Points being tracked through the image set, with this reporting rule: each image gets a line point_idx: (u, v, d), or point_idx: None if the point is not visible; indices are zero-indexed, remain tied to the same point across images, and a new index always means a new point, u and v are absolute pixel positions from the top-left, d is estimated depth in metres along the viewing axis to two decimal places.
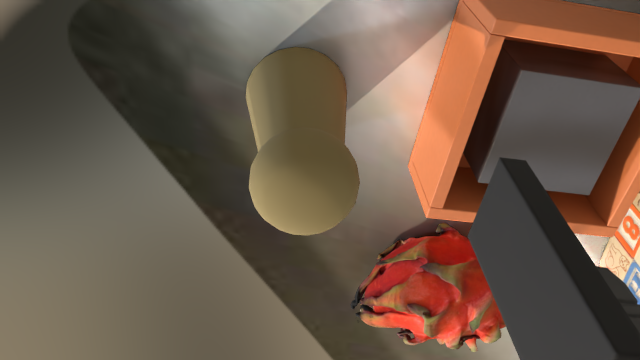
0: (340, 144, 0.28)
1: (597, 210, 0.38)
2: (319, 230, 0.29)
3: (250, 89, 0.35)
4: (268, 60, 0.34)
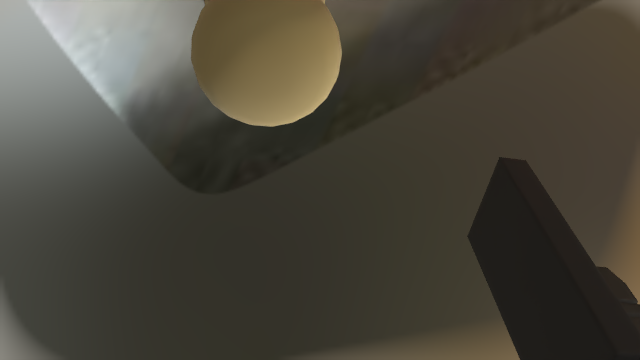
0: (205, 6, 0.20)
1: None
2: (321, 51, 0.20)
3: None
4: None
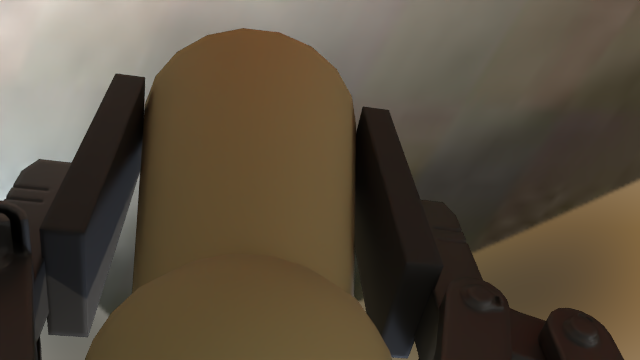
0: (97, 344, 0.09)
1: None
2: None
3: None
4: None
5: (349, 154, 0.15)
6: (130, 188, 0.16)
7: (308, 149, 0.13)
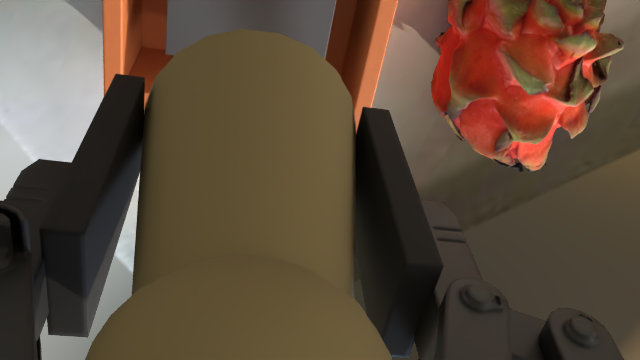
0: (97, 346, 0.09)
1: None
2: None
3: None
4: None
5: (349, 155, 0.15)
6: (130, 188, 0.16)
7: (308, 150, 0.13)
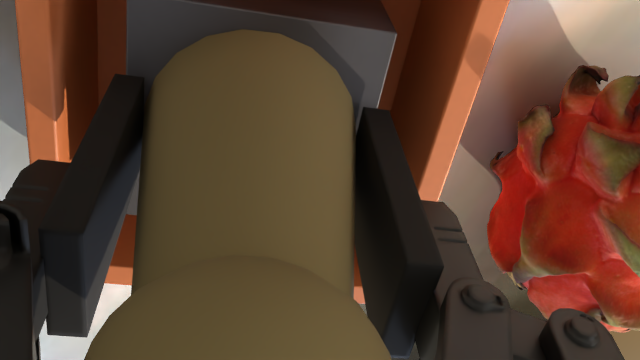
0: (96, 346, 0.09)
1: None
2: None
3: None
4: None
5: (349, 155, 0.15)
6: (129, 188, 0.16)
7: (308, 150, 0.13)
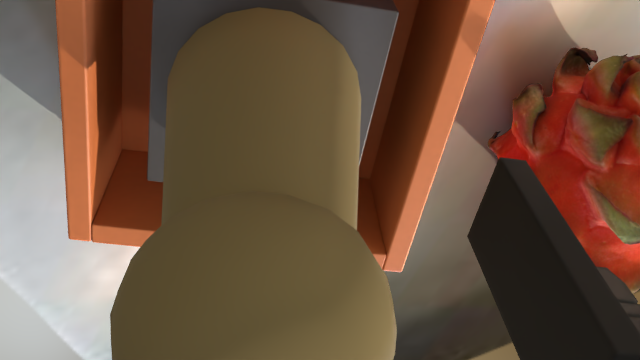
0: (136, 260, 0.10)
1: None
2: None
3: None
4: None
5: (354, 120, 0.16)
6: None
7: (317, 111, 0.14)
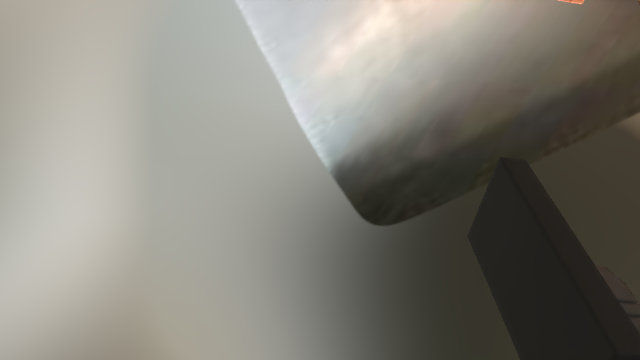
0: None
1: None
2: None
3: None
4: None
5: None
6: None
7: None
